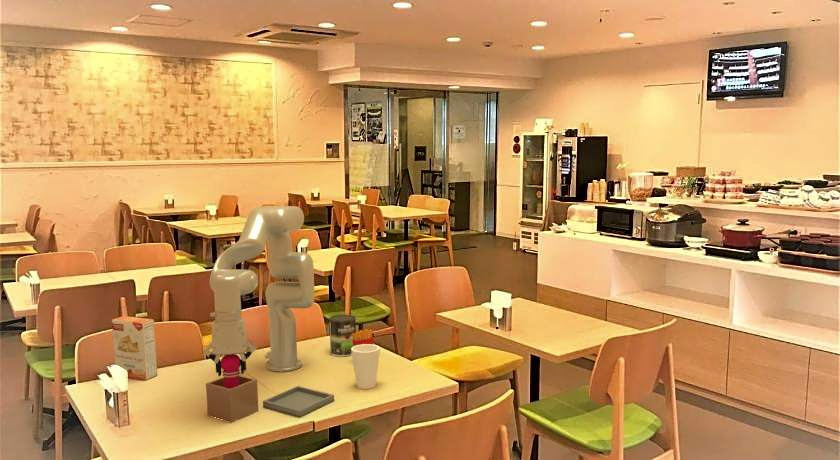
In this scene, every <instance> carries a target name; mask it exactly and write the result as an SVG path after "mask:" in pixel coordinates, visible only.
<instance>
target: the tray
mask: <svg viewBox="0 0 840 460" xmlns="http://www.w3.org/2000/svg"><path fill="white" fill-rule="evenodd" d="M333 402H335V395H334V394H332V393H328V392H324V391H319V390H315V389H312V388H309V387H305V386H301V385H297V386H294V387H291V388H290V389H288V390H284V391H282V392H280V393H278V394H276V395H273V396H271V397H268V398H267V399H265V400H262V408H264V409H268V410H272V411H276V412H279V413H282V414H285V415H289V416H293V417H296V418H303V417H304V416H307V415H308V414H311V413H312V412H314V411H317V410H318V409H321V408H322V407H325V406H326V405H329V404H331V403H333Z"/></svg>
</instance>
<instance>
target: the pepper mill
mask: <svg viewBox="0 0 840 460" xmlns="http://www.w3.org/2000/svg"><path fill="white" fill-rule="evenodd" d="M220 361H221V363H220V364H221V370H222V377H224V378H225V385H224V387H225V388H229V389H231V388H234V387H236V386H239V380H238V375H241V369H240V368H241V357H240V355H238V354H229V355H223V356H222V358H220Z"/></svg>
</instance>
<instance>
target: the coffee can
mask: <svg viewBox="0 0 840 460" xmlns="http://www.w3.org/2000/svg"><path fill="white" fill-rule="evenodd" d="M328 320H329V351H330V352H329V354H330V356H332V357H339V358H340V357H341V358H342V357H343V358H345V357H346V358H347V357H352V356H351V348H352V347H354V346H353V336H352V334H353V333H356V332H357V327H356V324H357V323H356V320H357V318H356V315H351V314H337V315H332V316H330V317H329V318H328Z"/></svg>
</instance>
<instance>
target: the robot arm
mask: <svg viewBox="0 0 840 460" xmlns="http://www.w3.org/2000/svg"><path fill="white" fill-rule="evenodd" d="M304 222H305V215H304V212H303V210H302V208H300V207H299V206H295V205H289V206H288V205H282V206H281V205H264V206H260V207H256V208H253V209H252V210H251V211H250V212H249V214H248V215H247V219H246V221H245V223H244V227H243V229H242V231H241V234H240V235H239V236H240V237H239V239H238V241H236V242H235V243H233V244H232V245H230V246H229V247H228V248H227V249H225V250H223V252H222V253H221V254H220V255H219V256H218V257H217V259H216V260H215V263H214V265H213V267H212V270H211V272H210V273H211V274H210V277H209V287H210V289H211V290H212V291H213V294H214V297H213V298H214V311H213V312H210V313H209V317H210V318H213V319H214V320H212V325H211V341H210V343H209V344H208V345H206V347H205V348H204V349H203V354H204V355H206V356H207V357H208V358H209V359H210V360H211V361H213V362H214V363H215V373H216V374H217V375H218V377H221V376H222V374H223V369H222V368H221V364H220V363H221V356H225V355H229V354H235V355H238V356H239V357H240V359H241V366H240V375H244V373H245V372H246V371H247V363H246V362H247V359H249V358H250V356H251V355H252V354H253V353H254V352H255V351H256V350H257V346H256V345H255V344H254V343H253V342H252V341H251V340H250V339H248V334H247V326H246V323H245V320H244V318H243V317H242V301H241V299H242V298H241V296H244V295H249V294H251V293H253V292H254V291H255V290H256V288H257V286H258V284H259V278H258V275H257V274H256V272H254V271H253V270H250V269H237V268H234V269H232V268H233V267H234V266H236V265H238V264H240V263H242V262H245V261H249V260H251V259H253V258H256V257H258V256H260V255H261V254H263V253H264V251H265V248H266V245H267V259H268V272H269V274H270V276H271V277H272V278H274V279H275V278H276V279H289V280H290V279H293V280H294V279H296V280H298V281H274V282H271V283H269V284H268V285H267V286H266V288H265V293H264V295H265V296H264V297H265V301H266V305H267V310H268V317H269V318H268V320H269V343H270V345H269V347H270V348H269V349H270V351H268V352H267V353H266V354H265V355H264V358H265V359H268V362H267V363H266V369H267V370H269V371H272V372H278V373H279V372H281V373H282V372H283V373H284V372H290V371H291V372H292V371H294V370H295V371H296V370H298V369H300V368H301V367H302V366H303V364H302V363H303V361H302V360H301V359H299V358H298V346H297V345H298V343H297V342H298V340H297V319H296V316H295V313H294V312H293V311H292V309H299V310H300V309H310V308H311V307H313V304H314V302H315V270H314V269H315V268H314V260H313V258H312V256H311V255H310V254H309V253H307V252H304V251H303V252H302V251H301V252H298V251H297V252H296V251H293V244H292V243H293V242H292V235H291V234H290V233H294V232H297V231H300V229H302V227H303V225H304ZM248 348H250V349H248Z"/></svg>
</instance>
